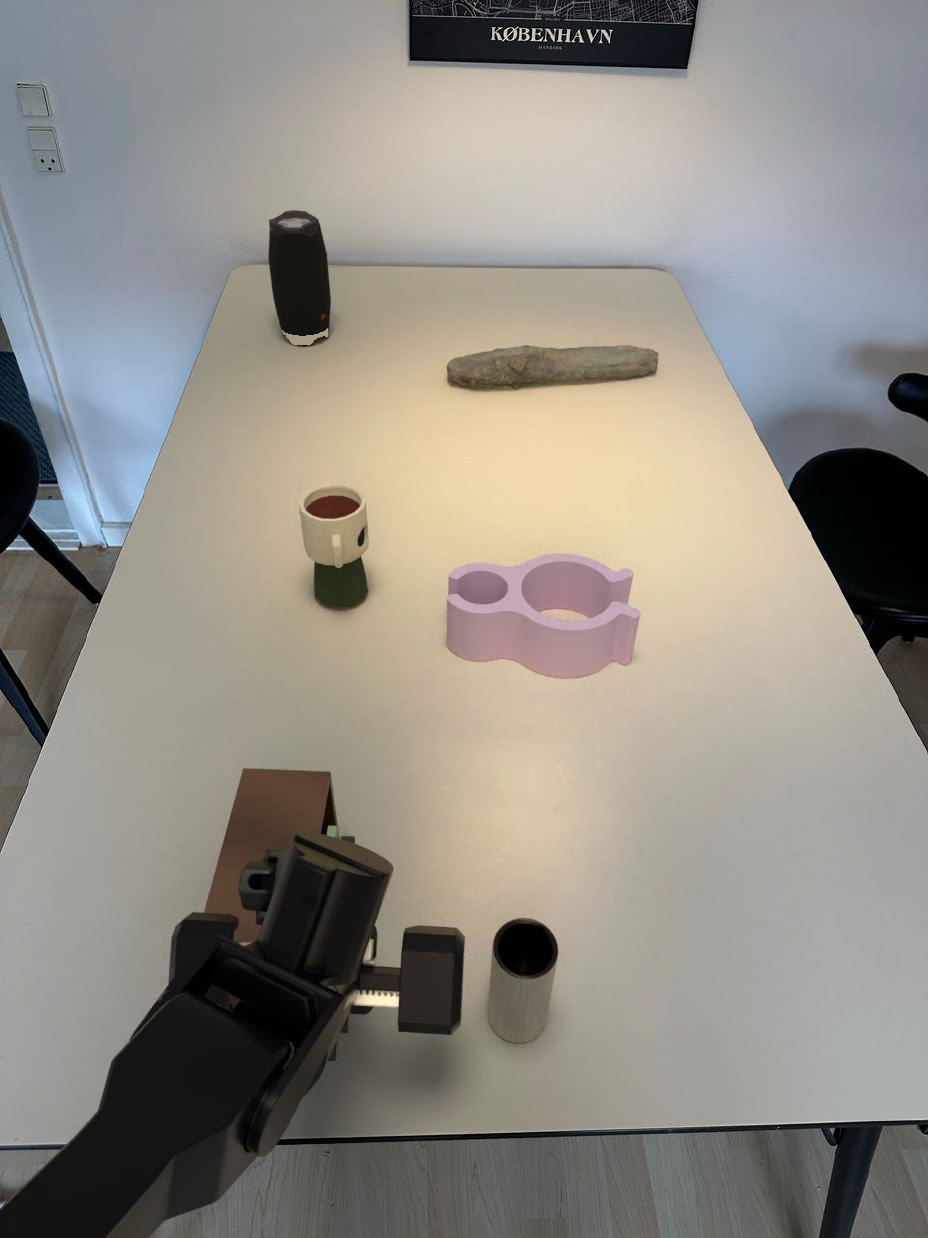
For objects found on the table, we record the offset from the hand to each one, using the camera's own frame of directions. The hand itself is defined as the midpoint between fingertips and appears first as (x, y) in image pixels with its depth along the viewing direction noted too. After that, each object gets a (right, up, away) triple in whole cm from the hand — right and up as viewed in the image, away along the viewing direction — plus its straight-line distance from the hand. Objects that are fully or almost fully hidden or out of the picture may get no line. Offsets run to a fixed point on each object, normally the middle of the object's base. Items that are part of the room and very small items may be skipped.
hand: (340, 935), depth 66 cm
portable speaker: (-18, +72, +88) cm, 115 cm away
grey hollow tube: (+13, -7, +3) cm, 15 cm away
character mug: (-5, +26, +38) cm, 47 cm away
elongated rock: (+24, +63, +79) cm, 104 cm away
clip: (+17, +21, +34) cm, 43 cm away
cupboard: (-6, -1, +8) cm, 10 cm away
